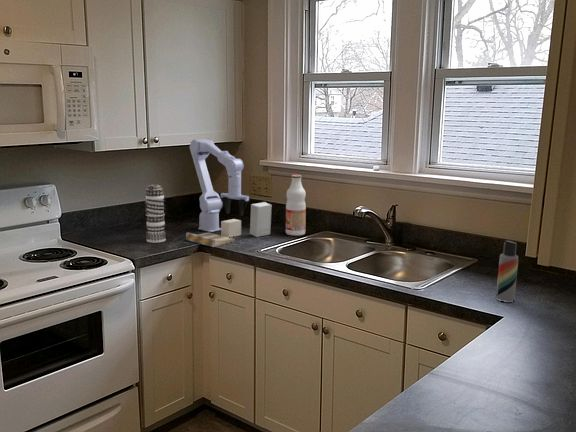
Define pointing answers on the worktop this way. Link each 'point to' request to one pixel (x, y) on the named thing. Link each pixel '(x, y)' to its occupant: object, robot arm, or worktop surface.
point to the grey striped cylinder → (155, 213)
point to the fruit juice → (296, 207)
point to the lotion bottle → (507, 272)
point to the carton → (231, 228)
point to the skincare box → (260, 219)
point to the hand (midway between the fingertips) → (234, 214)
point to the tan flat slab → (209, 239)
